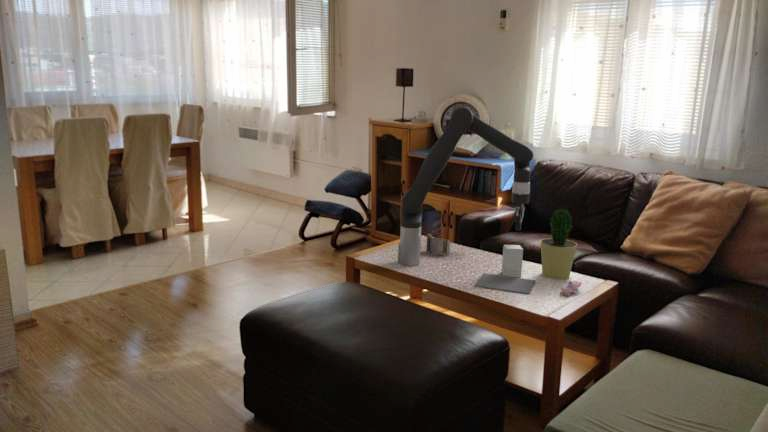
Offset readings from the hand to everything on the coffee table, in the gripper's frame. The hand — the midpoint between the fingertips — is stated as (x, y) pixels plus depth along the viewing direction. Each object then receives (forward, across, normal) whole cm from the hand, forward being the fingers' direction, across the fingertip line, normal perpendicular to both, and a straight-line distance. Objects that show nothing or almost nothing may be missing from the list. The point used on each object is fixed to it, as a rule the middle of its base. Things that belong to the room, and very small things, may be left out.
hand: (518, 230), depth 279 cm
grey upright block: (+18, -7, -38) cm, 43 cm away
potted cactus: (+18, +3, +18) cm, 25 cm away
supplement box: (+18, +11, 0) cm, 21 cm away
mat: (+17, +25, 0) cm, 30 cm away
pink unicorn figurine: (+18, +24, +26) cm, 40 cm away
